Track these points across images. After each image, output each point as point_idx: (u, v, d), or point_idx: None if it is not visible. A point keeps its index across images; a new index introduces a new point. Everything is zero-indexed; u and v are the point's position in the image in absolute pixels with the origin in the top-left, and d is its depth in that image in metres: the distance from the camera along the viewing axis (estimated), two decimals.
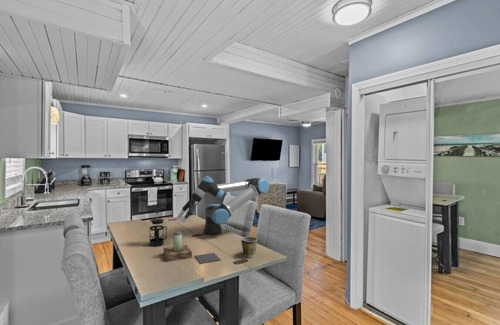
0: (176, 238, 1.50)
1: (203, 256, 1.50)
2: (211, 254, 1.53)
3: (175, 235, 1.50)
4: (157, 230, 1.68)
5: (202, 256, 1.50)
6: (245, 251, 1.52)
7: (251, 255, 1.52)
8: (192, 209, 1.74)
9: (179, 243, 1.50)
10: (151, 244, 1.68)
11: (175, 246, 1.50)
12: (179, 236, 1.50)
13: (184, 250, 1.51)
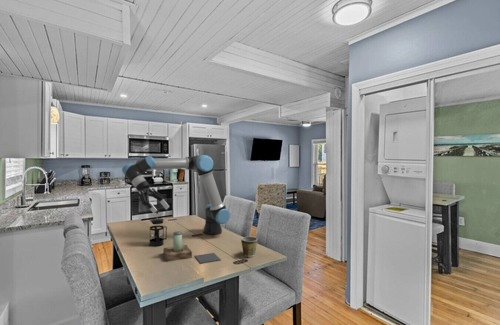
0: (176, 238, 1.50)
1: (203, 256, 1.50)
2: (211, 254, 1.53)
3: (175, 235, 1.50)
4: (157, 230, 1.68)
5: (202, 256, 1.50)
6: (245, 251, 1.52)
7: (251, 255, 1.52)
8: (142, 198, 1.48)
9: (179, 243, 1.50)
10: (151, 244, 1.68)
11: (175, 246, 1.50)
12: (179, 236, 1.50)
13: (184, 250, 1.51)
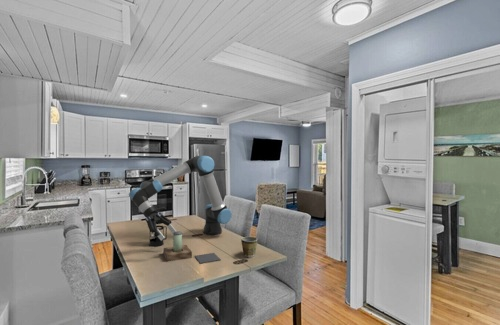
0: (176, 238, 1.50)
1: (203, 256, 1.50)
2: (211, 254, 1.53)
3: (175, 235, 1.50)
4: None
5: (202, 256, 1.50)
6: (245, 251, 1.52)
7: (251, 255, 1.52)
8: (149, 225, 1.46)
9: (179, 243, 1.50)
10: (151, 244, 1.68)
11: (175, 246, 1.50)
12: (179, 236, 1.50)
13: (184, 250, 1.51)
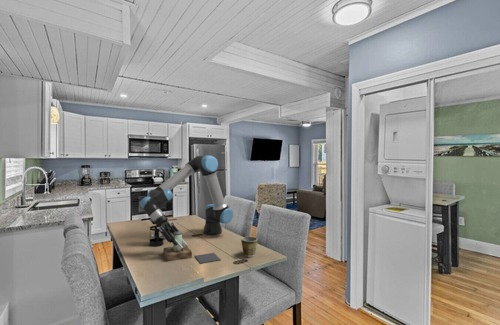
0: (176, 238, 1.50)
1: (203, 256, 1.50)
2: (211, 254, 1.53)
3: (175, 235, 1.50)
4: (157, 230, 1.68)
5: (202, 256, 1.50)
6: (245, 251, 1.52)
7: (251, 255, 1.52)
8: (166, 236, 1.47)
9: None
10: (151, 244, 1.68)
11: (175, 246, 1.50)
12: (179, 236, 1.50)
13: (184, 250, 1.51)
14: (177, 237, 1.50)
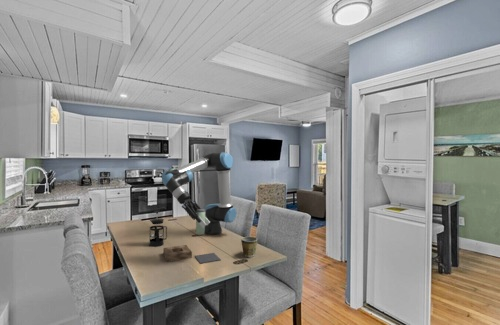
0: (199, 215, 1.46)
1: (203, 256, 1.50)
2: (211, 254, 1.53)
3: (199, 212, 1.46)
4: (157, 230, 1.68)
5: (202, 256, 1.50)
6: (245, 251, 1.52)
7: (251, 255, 1.52)
8: (190, 213, 1.43)
9: None
10: (151, 244, 1.68)
11: (198, 223, 1.46)
12: (203, 213, 1.46)
13: (184, 250, 1.51)
14: (200, 214, 1.46)
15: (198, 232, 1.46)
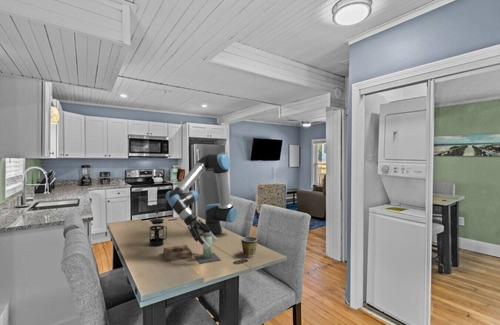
0: (207, 239, 1.46)
1: None
2: None
3: (206, 236, 1.46)
4: (157, 230, 1.68)
5: (202, 256, 1.50)
6: (245, 251, 1.52)
7: (251, 255, 1.52)
8: (193, 234, 1.41)
9: (210, 245, 1.47)
10: (151, 244, 1.68)
11: None
12: (210, 237, 1.46)
13: (184, 250, 1.51)
14: (208, 238, 1.46)
15: (205, 256, 1.46)
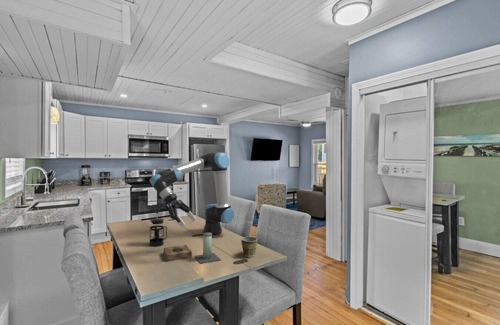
0: (206, 239, 1.46)
1: None
2: None
3: (205, 236, 1.46)
4: (157, 230, 1.68)
5: (202, 256, 1.50)
6: (245, 251, 1.52)
7: (251, 255, 1.52)
8: (171, 212, 1.46)
9: (209, 244, 1.47)
10: (151, 244, 1.68)
11: (205, 248, 1.46)
12: (209, 237, 1.47)
13: (184, 250, 1.51)
14: (207, 238, 1.46)
15: (205, 256, 1.46)
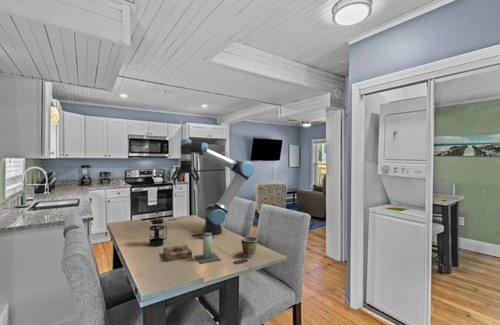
0: (206, 239, 1.46)
1: None
2: None
3: (205, 236, 1.46)
4: (157, 230, 1.68)
5: (202, 256, 1.50)
6: (245, 251, 1.52)
7: (251, 255, 1.52)
8: (173, 174, 1.80)
9: (209, 244, 1.47)
10: (151, 244, 1.68)
11: (205, 248, 1.46)
12: (209, 237, 1.47)
13: (184, 250, 1.51)
14: (207, 238, 1.46)
15: (205, 256, 1.46)
